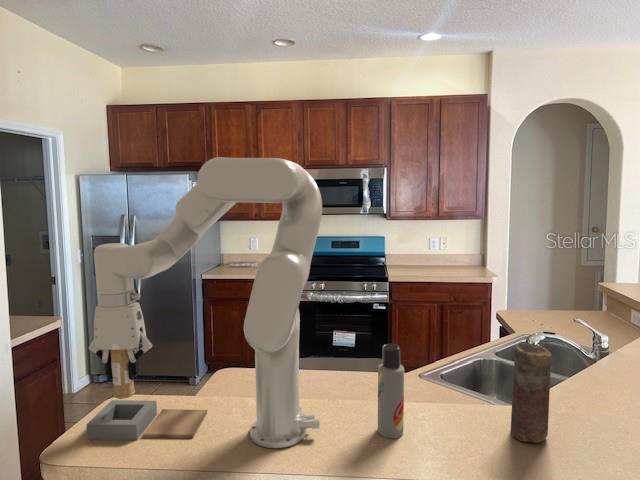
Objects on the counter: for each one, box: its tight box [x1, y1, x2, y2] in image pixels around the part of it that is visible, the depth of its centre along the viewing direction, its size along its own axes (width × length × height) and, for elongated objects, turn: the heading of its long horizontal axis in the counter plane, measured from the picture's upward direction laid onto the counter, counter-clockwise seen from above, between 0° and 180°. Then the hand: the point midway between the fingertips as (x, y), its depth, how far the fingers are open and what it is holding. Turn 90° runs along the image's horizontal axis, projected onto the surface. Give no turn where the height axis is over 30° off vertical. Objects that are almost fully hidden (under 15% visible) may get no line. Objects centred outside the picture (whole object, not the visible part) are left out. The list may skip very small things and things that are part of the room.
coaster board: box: [142, 408, 208, 439], centre depth 104 cm, size 11×11×1 cm
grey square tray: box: [86, 399, 158, 441], centre depth 103 cm, size 11×11×4 cm
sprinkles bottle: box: [110, 344, 136, 400], centre depth 102 cm, size 5×5×13 cm
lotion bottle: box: [377, 343, 405, 439], centre depth 99 cm, size 6×6×20 cm
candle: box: [510, 342, 552, 443], centre depth 97 cm, size 8×7×20 cm
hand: (123, 376), depth 102 cm, fingers closed on sprinkles bottle, 4 cm apart
